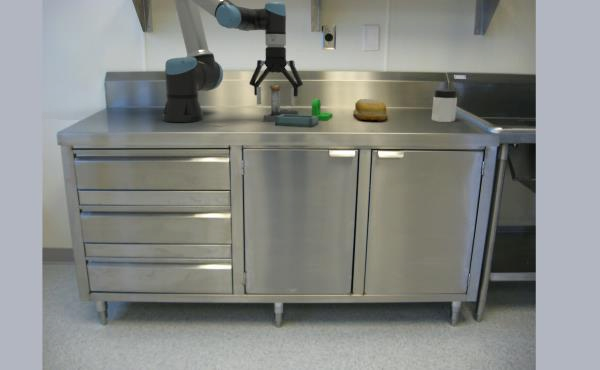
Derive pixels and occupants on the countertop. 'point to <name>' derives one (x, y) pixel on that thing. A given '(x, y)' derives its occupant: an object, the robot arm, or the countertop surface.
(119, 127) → the countertop surface
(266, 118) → the grey metal square frame
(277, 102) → the pin
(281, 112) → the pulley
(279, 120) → the tray
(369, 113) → the bread
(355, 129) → the countertop surface
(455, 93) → the jar
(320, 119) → the mechanical part
